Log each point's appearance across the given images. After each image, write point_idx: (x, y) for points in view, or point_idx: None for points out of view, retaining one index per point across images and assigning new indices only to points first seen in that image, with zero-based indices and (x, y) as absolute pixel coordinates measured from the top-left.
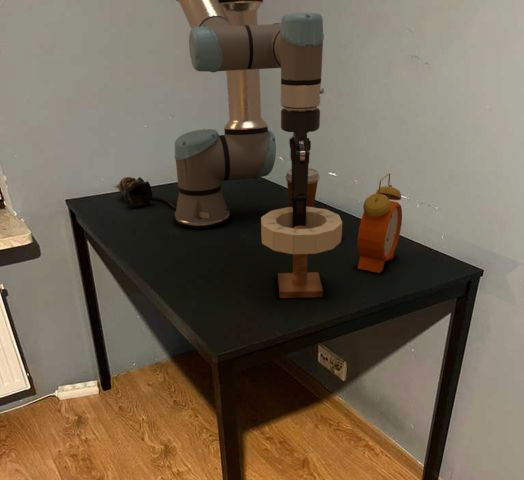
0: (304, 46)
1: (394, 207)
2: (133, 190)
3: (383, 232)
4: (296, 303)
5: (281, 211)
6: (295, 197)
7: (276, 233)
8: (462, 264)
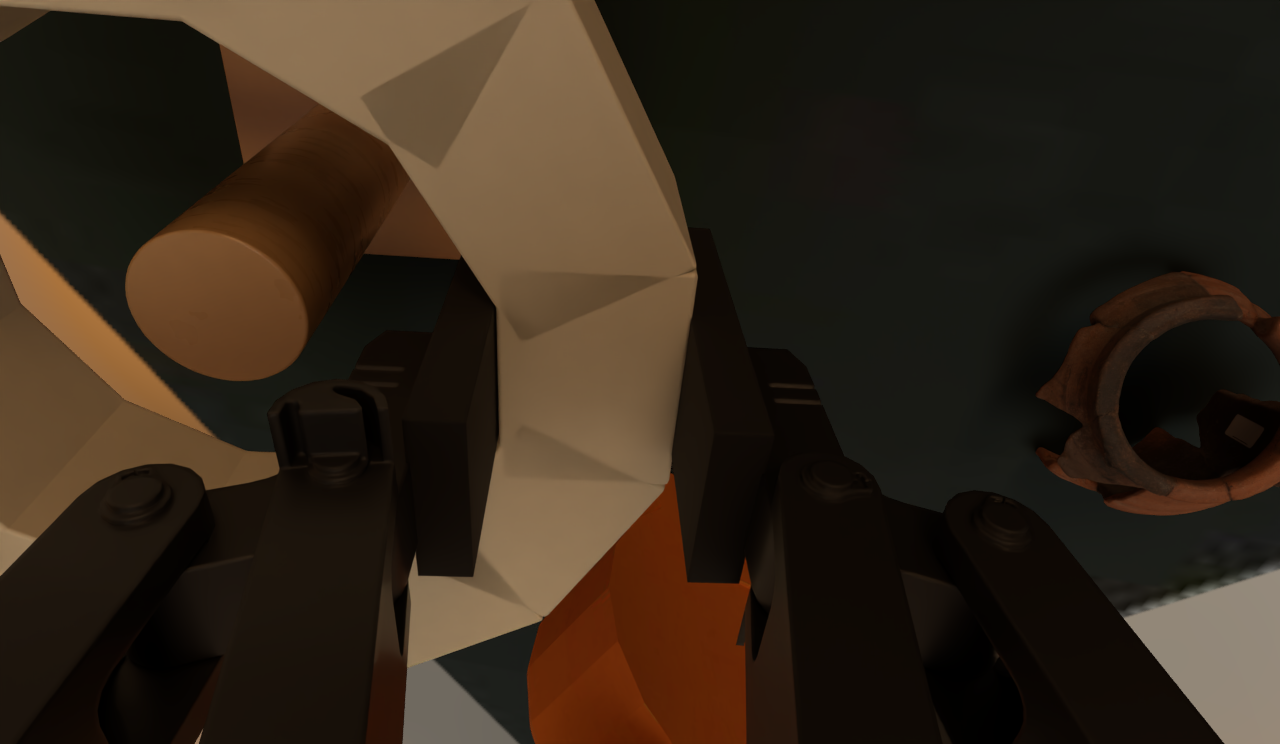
0: None
1: None
2: None
3: (531, 726)
4: (164, 52)
5: (512, 156)
6: (74, 505)
7: None
8: None
